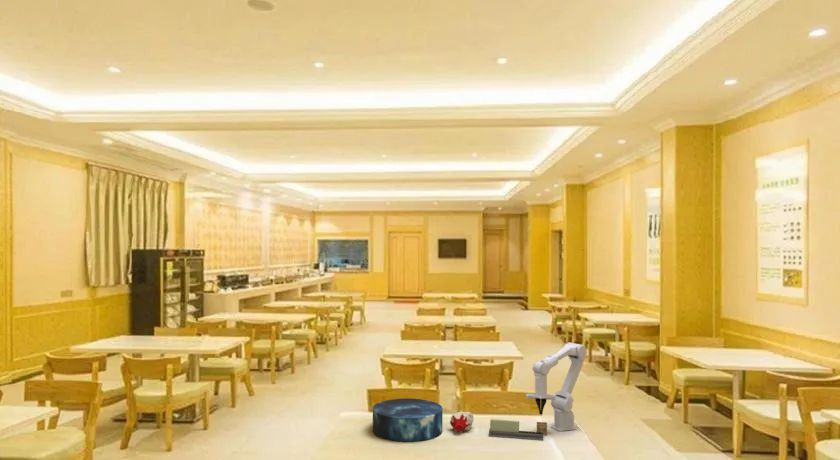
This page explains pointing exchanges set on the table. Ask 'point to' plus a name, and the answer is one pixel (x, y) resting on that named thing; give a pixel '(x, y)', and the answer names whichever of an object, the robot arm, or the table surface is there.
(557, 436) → the table surface
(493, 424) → the pale green long bar
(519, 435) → the track
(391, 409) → the cylinder
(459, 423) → the rock with red coral
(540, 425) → the block
